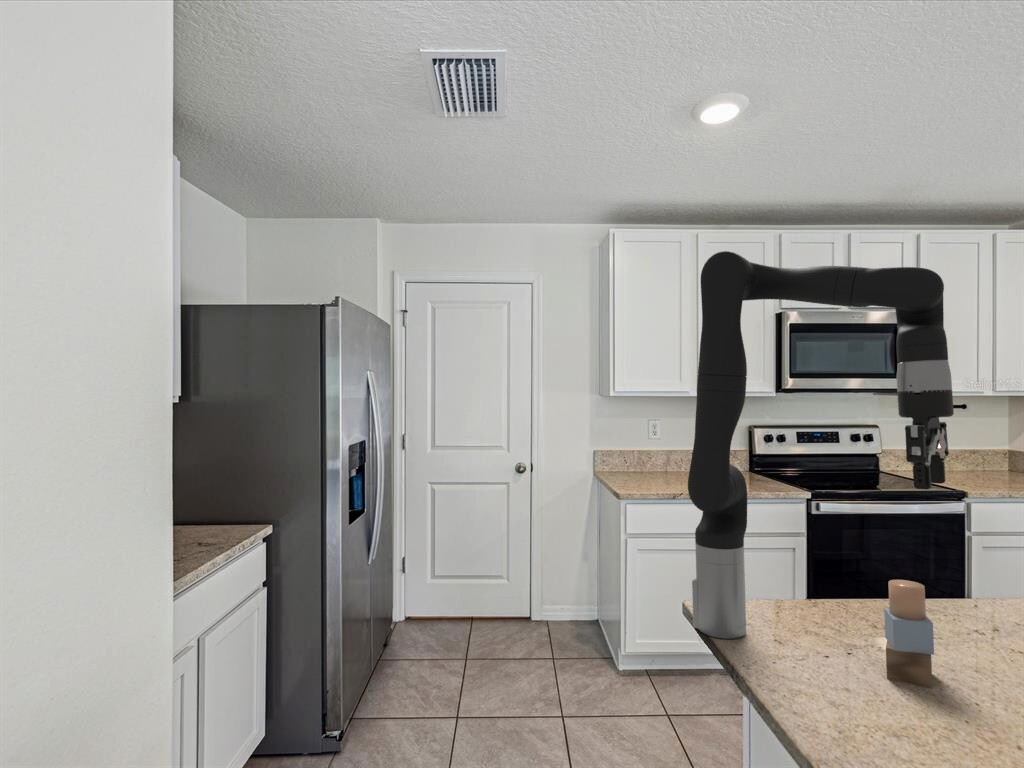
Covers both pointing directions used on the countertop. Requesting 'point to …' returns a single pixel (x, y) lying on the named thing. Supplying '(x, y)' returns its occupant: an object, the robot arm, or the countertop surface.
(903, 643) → the tower top
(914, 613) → the tan rounded cylinder
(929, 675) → the tower base
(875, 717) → the countertop surface
